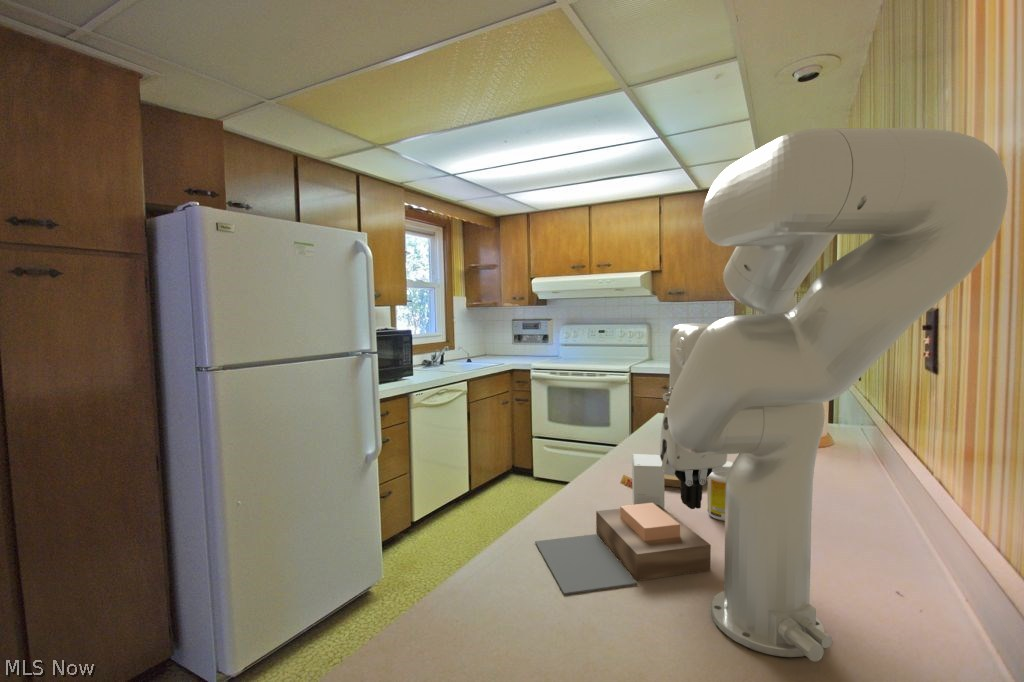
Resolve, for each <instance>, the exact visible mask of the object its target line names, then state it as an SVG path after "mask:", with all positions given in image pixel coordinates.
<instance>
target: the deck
mask: <svg viewBox="0 0 1024 682" xmlns="http://www.w3.org/2000/svg"><path fill="white" fill-rule="evenodd" d="M656 506H657V507H659V508H660V509H661V510H663V511H664V512H665V513H666V514H668V515H669V516H670V517H672V518H673V519H674V520H675V521H677V522H678V523H679V524H680V537H674V538H666V539H657V540H649V541H644V540H643V539H642V538H641V537H640V536H639V535H638V534H637V533H636V532H635V531H634V530H633V529H632V528H631V527H630V526H629V525H628V524H627V523H626V522H625V521H624V520H623V519H621V518H620V508H612V509H604V510H603V509H602V510H595V511H596V512H595V520H596V521H595V522H596V524H595V527H596V533H595V534H596V535H597V536H598V537H599V538H600V540H601V541H602V542H603V543H604V544H605V546H606V547H607V548H608V549H609V550H610V551H611V553H612V554H613V555H614V556H615V557H616V559H617V560H618V561H619V562H620V563H621V564H622V566H623V567H624V568H625V569H626V570H627V572H628V573H629V574H630V575H631V576H632V577H633V578H634V577H635V578H634V580H635V581H636V582H637V581H644V579H645V580H651V578H653V579H657V578H658V579H659V578H666V577H673V576H678V575H687V574H695V573H703V572H708V571H709V572H710V571H711V562H712V561H711V560H712V559H711V557H712V556H711V551H712V550H711V548H712V547H711V546H712V545H711V544H710V543H709V542H708V541H706V540H705V539H704V538H702V537H701V536H700V535H699V534H697V533H696V532H695V531H694V530H693V529H691V528H690V527H688V526H687V525H685V524H684V522H682V521H680V519H678V518H676V517H675V516H674V515H672V514H671V513H670V512H669V511H668V510H666V509H663V508H662V507H661V506H660V505H656Z"/></svg>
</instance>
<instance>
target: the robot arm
mask: <svg viewBox="0 0 1024 682" xmlns="http://www.w3.org/2000/svg"><path fill="white" fill-rule="evenodd" d="M1006 172H1007V171H1006V170H1005V167H1004V163H1003V161H1002V159H1001V158H1000V156H999V155H998V153H997V152H996V151H995V150H994V149H993V148H992V147H991V146H990V145H988V143H986V142H984V141H982V140H980V139H978V138H977V137H974V136H972V135H971V136H970V135H969V134H965V133H961V132H959V131H958V132H957V131H952V130H951V131H950V130H946V129H935V128H920V127H919V128H918V127H917V128H915V127H912V128H911V127H888V128H887V127H885V128H884V127H882V128H880V127H879V128H864V127H863V128H859V127H858V128H853V127H851V128H846V127H844V128H838V127H836V128H835V127H834V128H833V127H830V128H829V127H827V128H826V127H822V128H821V127H820V128H807V129H806V128H805V129H799V130H795V131H791V132H789V133H786V134H783V135H781V136H778V137H777V138H775V139H773V140H771V141H769V142H767V143H765V144H764V145H762V146H760V147H759V148H757V149H755V150H754V151H752V152H750V153H748V154H746V155H744V156H743V157H741V158H739V159H737V160H735V161H734V162H733V163H731V164H730V165H729V166H727V167H726V168H725V169H723V171H722V172H721V173H720V174H719V175H718V176H717V177H716V179H715V180H714V181H713V183H712V185H711V186H710V188H709V189H708V193H707V195H706V198H705V200H704V203H703V207H702V214H701V215H702V216H701V218H702V219H701V220H702V226H703V229H704V233H705V235H706V237H707V238H708V240H710V242H711V243H713V244H715V245H717V246H720V247H732V248H733V247H735V249H734V250H733V252H732V254H731V255H730V258H729V259H728V261H727V264H726V265H725V267H724V270H723V274H722V279H723V283H724V286H725V288H726V290H727V291H728V293H729V294H730V295H731V296H732V297H733V298H734V299H735V300H737V301H738V302H739V303H740V304H742V305H744V306H745V307H747V308H750V309H752V310H755V311H757V312H759V313H761V314H740V315H731V316H726V317H722V318H720V319H717V320H716V321H714V322H713V323H710V324H708V323H699V322H698V323H696V322H695V323H691V322H689V323H680V324H676V325H674V326H673V327H672V328H671V330H670V333H669V334H670V335H669V336H670V337H669V387H668V391H667V392H664V393H663V394H662V400H663V401H664V402H667V403H668V404H667V405H665V407H664V413H663V418H662V422H661V423H662V424H661V430H660V439H659V442H660V443H659V455H660V458H661V460H662V461H663V462H662V466H661V471H662V472H663V473H664V474H666V475H672V476H676V477H677V478H678V480H680V481H681V487H680V499H681V502H682V504H684V505H685V506H687V507H688V508H689V509H690V510H695V509H697V510H698V509H701V508H702V507H701V506H702V501H703V500H702V499H703V486H704V485H705V484H706V482H707V479H708V476H709V475H710V474H711V472H714V471H717V470H720V469H722V466H723V465H725V464H726V462H727V461H728V455H737V454H738V455H737V456H736V457H735V459H734V461H733V462H732V463H733V464H732V466H731V468H730V471H729V473H728V476H727V480H726V488H725V521H724V566H723V567H724V574H723V575H724V577H723V578H724V580H723V581H724V582H723V583H724V584H723V587H724V589H723V590H722V591H720V592H719V593H717V594H715V596H714V597H713V598H712V601H711V605H710V613H711V618H712V620H713V622H714V624H715V625H716V626H717V627H718V629H719V630H720V631H721V632H723V633H724V634H725V635H726V636H727V637H728V638H730V639H731V640H733V641H735V642H736V643H738V644H740V645H742V646H744V647H746V648H748V649H750V650H753V651H755V652H759V653H762V654H766V655H771V656H775V657H780V658H781V657H784V658H799V657H800V658H801V657H806V658H808V659H809V660H810V661H812V662H818V661H820V660H821V659H822V657H823V655H824V653H825V651H824V650H825V649H828V648H830V647H831V645H832V643H833V640H832V637H831V636H830V635H828V634H827V633H826V632H825V627H824V625H823V623H822V621H821V620H820V619H819V617H818V616H817V608H816V607H814V606H813V605H811V604H810V601H811V599H810V598H811V596H810V595H811V556H812V555H811V553H812V517H813V516H812V515H813V514H812V512H813V488H814V486H813V485H814V474H815V465H816V459H817V454H818V449H819V446H820V442H821V439H822V435H823V431H824V427H825V426H824V425H825V406H824V403H825V402H830V401H833V400H834V399H837V398H839V397H840V396H841V395H844V393H846V392H847V391H848V390H849V389H850V388H851V387H852V386H853V385H854V384H855V383H856V382H858V380H859V379H861V377H862V376H863V375H864V374H865V373H866V372H867V371H868V370H870V368H871V367H872V366H873V365H874V364H875V363H876V362H877V361H878V360H879V359H880V358H882V356H883V355H884V354H885V353H886V352H887V351H888V350H889V349H890V348H892V346H894V344H895V343H896V342H897V341H898V340H899V339H900V337H901V336H902V335H903V334H904V333H905V332H906V331H907V330H908V329H909V328H910V327H911V326H912V325H913V324H914V323H915V322H917V321H918V320H919V319H920V318H921V317H922V316H923V315H924V314H926V313H927V312H928V311H929V310H930V309H931V308H933V307H934V306H935V305H937V303H939V302H940V301H942V299H944V298H945V297H946V296H947V295H948V294H950V292H952V291H953V290H954V289H955V288H956V287H957V286H958V285H959V284H960V283H962V282H963V280H965V279H966V278H967V277H968V275H970V273H971V272H972V271H974V270H975V268H976V267H977V266H978V265H979V263H980V262H981V261H982V260H983V258H984V257H985V255H986V254H987V253H988V251H989V250H990V249H991V247H992V245H993V243H994V241H995V240H996V238H997V236H998V233H999V232H1000V229H1001V227H1002V224H1003V221H1004V218H1005V213H1006V209H1007V204H1008V195H1009V194H1008V192H1009V191H1008V190H1009V188H1008V186H1009V184H1008V177H1007V173H1006ZM836 235H872V236H871V237H870V238H869V239H867V240H866V241H865V242H864V243H862V244H861V245H859V246H857V247H856V248H854V249H853V250H851V251H849V252H847V253H846V254H844V255H843V256H841V257H840V258H838V259H837V260H835V262H833V263H831V264H830V265H829V266H828V267H827V268H826V269H825V270H823V271H822V272H821V273H820V274H819V275H818V276H817V278H816V279H814V280H813V282H812V283H811V285H810V286H809V288H808V289H807V291H806V293H805V294H804V295H803V296H802V298H801V299H800V301H799V302H798V301H797V299H796V297H795V295H794V294H795V292H796V291H797V290H798V288H799V287H800V286H801V284H802V283H803V281H804V280H805V278H806V277H807V276H808V274H809V273H810V271H811V270H812V269H813V267H814V266H815V264H816V263H817V262H818V260H819V259H820V258H821V256H822V255H823V253H824V252H825V251H826V249H827V247H829V245H830V243H831V242H832V240H833V239H834V237H835V236H836Z"/></svg>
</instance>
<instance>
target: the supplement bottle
mask: <svg viewBox="0 0 1024 682" xmlns="http://www.w3.org/2000/svg"><path fill="white" fill-rule="evenodd" d="M733 463H734V462H732V461H729V460H727V462H726V464H725V465H723V466H722V469H720V470H717V471H714V472H711V474H710V475H709V476H708V477H707V514H708V515H709V516H710V517H711V518H713V519H715V520H718V521H723V522H725V488H726V480H727V476H728V473H729V471H730V468H731V466H732V464H733Z"/></svg>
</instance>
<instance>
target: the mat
mask: <svg viewBox="0 0 1024 682" xmlns="http://www.w3.org/2000/svg"><path fill="white" fill-rule="evenodd" d="M535 545H536V547H537V549H538V551H539V552H540V554H541V556H542V557H543V559H544V561H545V563H546V565H547V567H548V569H549V570H550V572H551V574H552V576H553V578H554V580H555V581H556V583H557V585H558V587H559V588H560V590H561V592H562V594H563V596H567V595H568V596H569V595H573V594H581V593H590V592H595V591H596V590H597V591H602V590H611V589H618V588H623V587H624V588H625V587H630V586H637V585H638V582H637V580H636V579H635V578H634V576H633V575H632V574H631V573H630V572H629V571H628V569H627V568H626V567H625V566H624V565H623V564H622V562H621V561H620V560H619V559H618V558H617V557H616V555H615V554H614V553H613V552H612V551H611V550H610V548H609V547H608V546H607V545H606V544H605V543H604V541H603V540H602V539H601V538H600V537H599V535H598V534H597V533H595V534H594V533H593V534H587V535H585V534H584V535H579V536H578V535H576V536H570V537H569V536H568V537H560V538H551V539H543V540H536V541H535ZM610 588H611V589H610ZM597 591H596V592H597Z"/></svg>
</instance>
